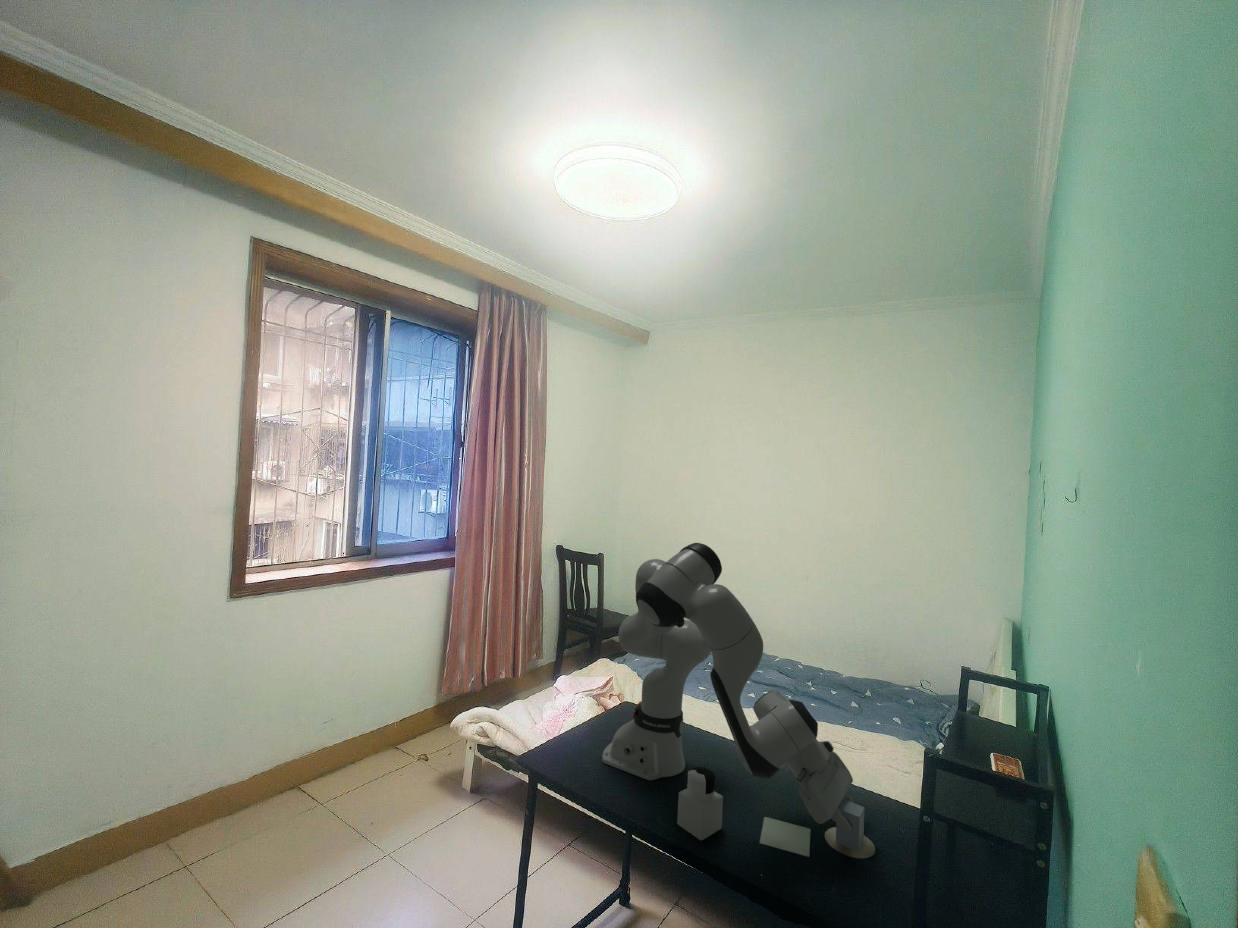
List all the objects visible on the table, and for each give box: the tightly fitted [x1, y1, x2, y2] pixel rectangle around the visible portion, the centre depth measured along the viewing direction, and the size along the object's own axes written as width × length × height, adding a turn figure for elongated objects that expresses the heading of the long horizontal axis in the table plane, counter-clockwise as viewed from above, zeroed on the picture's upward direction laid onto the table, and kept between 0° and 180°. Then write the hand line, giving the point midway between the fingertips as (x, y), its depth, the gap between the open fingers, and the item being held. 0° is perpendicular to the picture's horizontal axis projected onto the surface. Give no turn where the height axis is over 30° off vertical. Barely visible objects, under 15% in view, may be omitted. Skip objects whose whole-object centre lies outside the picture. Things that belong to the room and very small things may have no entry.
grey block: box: [835, 799, 865, 852], centre depth 115 cm, size 5×5×7 cm
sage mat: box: [759, 816, 811, 858], centre depth 116 cm, size 10×10×1 cm
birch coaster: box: [824, 826, 876, 859], centre depth 115 cm, size 10×10×1 cm
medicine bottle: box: [676, 766, 724, 841], centre depth 118 cm, size 7×7×12 cm
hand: (853, 823), depth 115 cm, fingers closed on grey block, 5 cm apart
